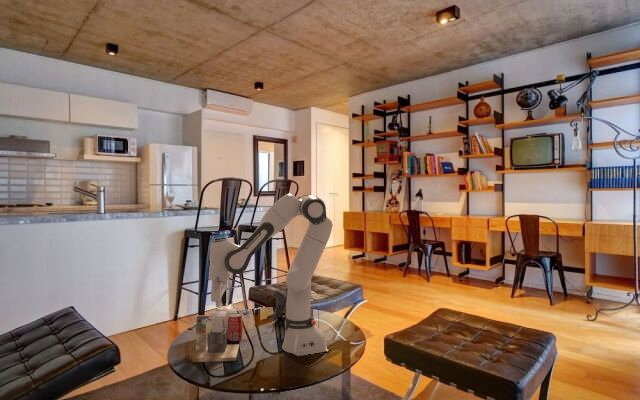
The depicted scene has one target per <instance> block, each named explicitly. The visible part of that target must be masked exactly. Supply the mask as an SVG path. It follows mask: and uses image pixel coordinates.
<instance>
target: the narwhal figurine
mask: <svg viewBox="0 0 640 400" xmlns="http://www.w3.org/2000/svg"><path fill="white" fill-rule="evenodd" d="M269 290H270V291H271V292H272V293H273V295H272V296H271V297H270V299H268V301H267V303H269V302H270V301H272V300H273V299H275V300H276V309H275V311H274V312H272V313H271V314H269V315H267V316H266V317H267V318H271V319H272V320H273V321H274V320H276V319H278V320H279V317H278V316H279V315H280V314H281V313H285V314H286V312H287V294H288V287H285V286H281V287H280V288H279V289H278V290H274V289H272V288H269ZM267 318H266V319H267Z"/></svg>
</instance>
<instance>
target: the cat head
mask: <svg viewBox="0 0 640 400" xmlns="http://www.w3.org/2000/svg"><path fill="white" fill-rule="evenodd" d="M215 311H227V316H226V319H224V328H227V331H228V318H229V315H230V314H233V313H238V312H237V310H236V309H235V308H234V303H230V304H228V305H227V304H226V305H223V306H220V307H216V309H215ZM210 323H211V324H212V320H211V321H210V322H209V324H210Z"/></svg>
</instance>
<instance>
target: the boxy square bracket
mask: <svg viewBox="0 0 640 400" xmlns="http://www.w3.org/2000/svg"><path fill="white" fill-rule="evenodd" d="M226 316H227V311H216V310H212V311H210V313H209V315H206V316H202V315H196V320H197V319H206V320H211V321H212V322H211V329H212V334H221V333H224V319H226Z"/></svg>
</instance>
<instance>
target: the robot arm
mask: <svg viewBox="0 0 640 400" xmlns="http://www.w3.org/2000/svg"><path fill="white" fill-rule="evenodd" d="M298 216H302V217H303V218H305V219H306V220H308V226H307V229H306V231H305V234H304V236H303V238H302V240H301V242H300V245H299V246H298V249H297V252H296V253H295V255H294V258H293V259H292V261H291V264H290V266H289V268H288V270H287V273H286V276H285V282H286V285H287V289H288V294H287V311H286V312H285V317H284V318H285V319H284V330H285V332H284V333H285V334H284V338H283V339H284V340H283V343H282V347H281V348H282V350H283V351H284V352H287V353H289V354H293V355H295V356H297V357H300V356H309V355H308V354H311V355H315V354H314V353H319V352H324V351H328V349H327V346H326V340H327V339H326V335H325V333H324V331H323V330H321V329H320V328H319V327H317V326H316V324H317V321H316V320H315V318H314V317H313V316H311V294H312V278H313V276H314V274H315V271H316V269H317V266H318V264H319V262H320V259H321V257H322V254H323V253H324V251H325V249H326V247H327V245H328V241H329V239H330V237H331V234H332V230H333V221H332V220H331V218H329V217H327V207H326V203H325V201H324V200H322V199H321V198H320V197H318V196H316V195H313V194H305V195H302V196H299V197H296V196H295V195H294V194H291V193H286V194H284V195H283V196H281V197H280V198H278V199H277V200H276V201H275V202H274V203H273V204H272V205H271V206H270V207H269V208H268V209H267V210H266V212H265V213H264V215H263V216H262V218H261V220H260V222H259V223H258V225H257V227H256V229H255V230H254V232H253V233H252V234H251V235H250V236H249V237H248V238H247V239H246V240H245V241H244V242H243V244H242V245H239V244H236V243H234V242H232V241H231V240H230V239H229V238H220V239H216V240H214V241H213V242H212V243H210V248H209V249H210V250H209V268H208V269H209V270H208V280H209V281H211V292H210V301H211V302H212V303H213V302H215V307H216V308H220V307H221V304H222V297H223V295H224V293H225V291H226V290H227V283H228V280H230V274H234V275H235V274H237V275H239V274H241V273H243V272H245V271H246V270H247V268H248V266H249V264H250V262H251V260H252V257H253V256H254V255H255V253H256V252H257V251H258V250H259V249H260V248H261V247H262V246H263V245H264V244H265V243H266V242H267V241H268V240H270V239H271V238H273V237H274V236H275V235H277V234H279V233H280V232H281V231H282V230H284V229H285V228H286V227H287V226H288V225H289V224H290V222H291V221H292V220H293V219H294V218H296V217H298Z"/></svg>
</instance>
